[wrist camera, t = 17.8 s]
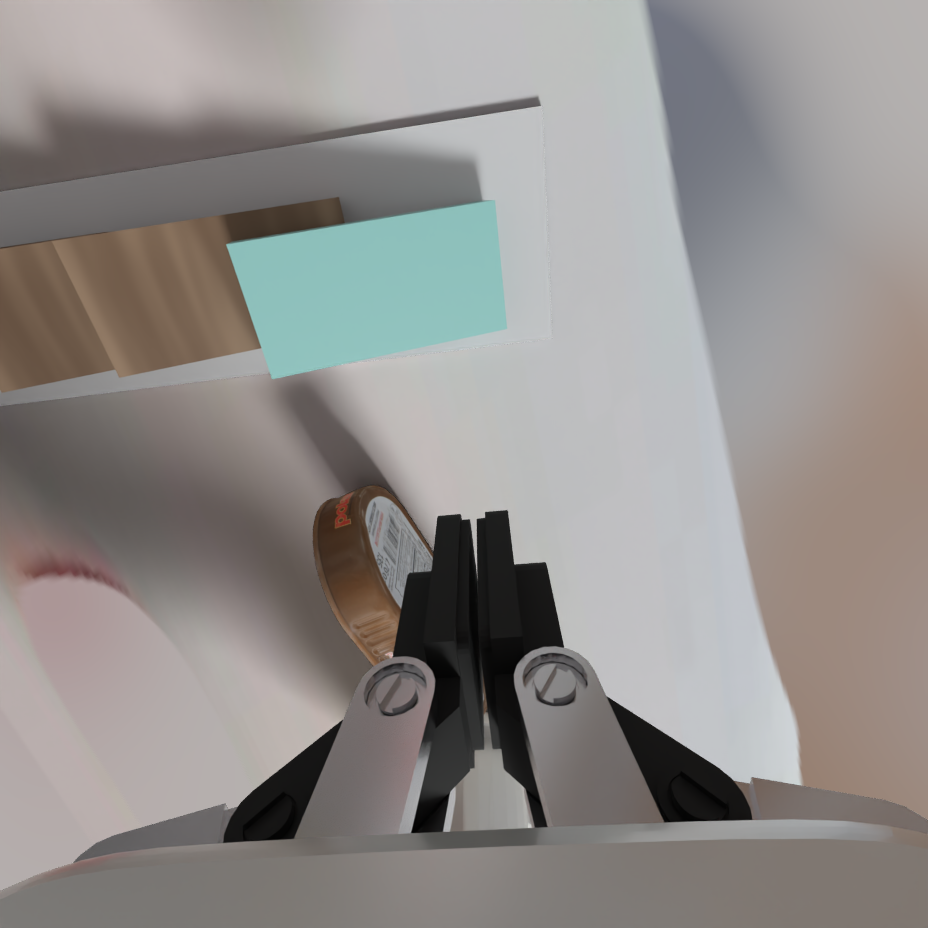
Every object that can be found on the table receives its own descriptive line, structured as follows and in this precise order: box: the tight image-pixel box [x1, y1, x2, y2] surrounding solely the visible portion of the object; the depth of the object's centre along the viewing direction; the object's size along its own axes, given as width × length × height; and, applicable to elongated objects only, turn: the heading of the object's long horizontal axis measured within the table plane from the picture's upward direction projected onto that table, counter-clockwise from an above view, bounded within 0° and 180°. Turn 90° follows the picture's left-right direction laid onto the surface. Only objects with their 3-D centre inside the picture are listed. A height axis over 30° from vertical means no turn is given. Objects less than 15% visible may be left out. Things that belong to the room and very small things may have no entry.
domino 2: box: [52, 197, 345, 378], centre depth 20 cm, size 2×5×10 cm
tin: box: [313, 485, 487, 714], centre depth 27 cm, size 15×3×8 cm, turn 25°
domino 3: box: [226, 200, 507, 379], centre depth 20 cm, size 2×5×10 cm
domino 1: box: [0, 216, 212, 393], centre depth 21 cm, size 2×5×10 cm
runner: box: [0, 106, 553, 406], centre depth 23 cm, size 30×9×1 cm, turn 97°
